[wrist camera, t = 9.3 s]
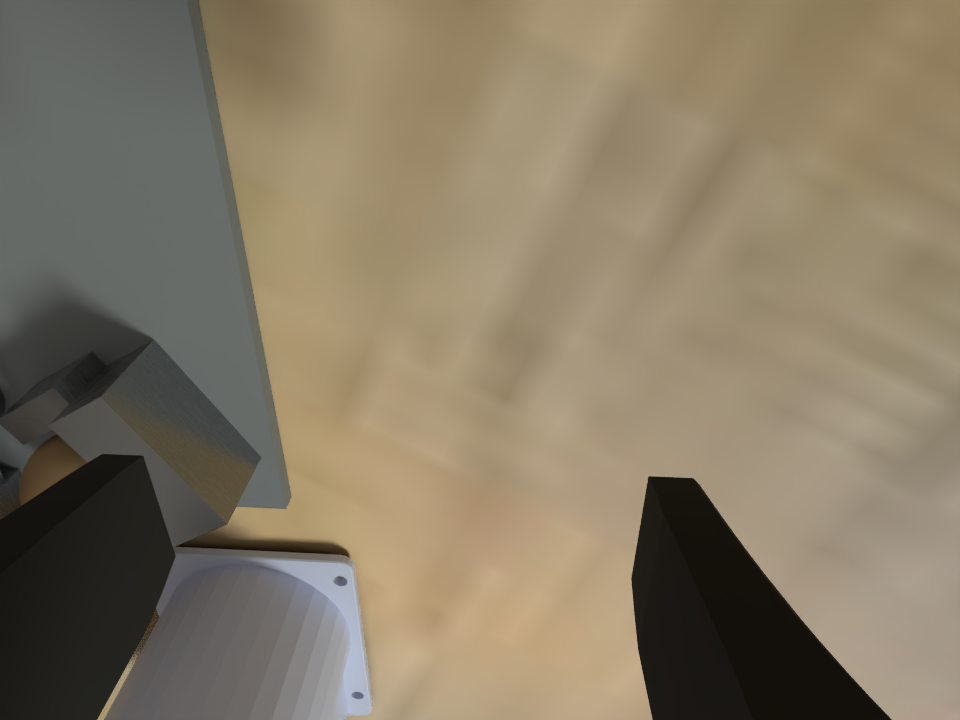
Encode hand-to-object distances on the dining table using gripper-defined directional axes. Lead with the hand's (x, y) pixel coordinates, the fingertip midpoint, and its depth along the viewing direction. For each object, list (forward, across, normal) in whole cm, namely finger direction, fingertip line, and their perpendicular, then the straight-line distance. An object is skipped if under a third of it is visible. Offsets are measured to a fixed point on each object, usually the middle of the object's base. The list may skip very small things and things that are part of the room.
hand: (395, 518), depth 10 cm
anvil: (+10, +10, +6) cm, 15 cm away
